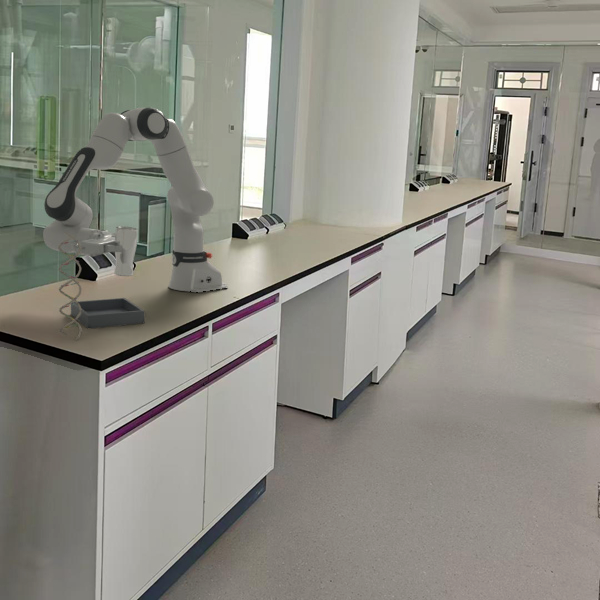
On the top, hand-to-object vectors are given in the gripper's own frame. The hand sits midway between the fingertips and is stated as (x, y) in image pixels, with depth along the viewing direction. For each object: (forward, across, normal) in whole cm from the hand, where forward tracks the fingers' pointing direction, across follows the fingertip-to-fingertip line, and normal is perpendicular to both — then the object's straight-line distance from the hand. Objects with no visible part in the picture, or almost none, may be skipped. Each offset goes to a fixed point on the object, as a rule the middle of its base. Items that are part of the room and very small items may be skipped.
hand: (127, 247), depth 232 cm
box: (-1, -9, +22) cm, 23 cm away
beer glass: (-1, 0, +9) cm, 9 cm away
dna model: (+1, -32, +22) cm, 39 cm away
